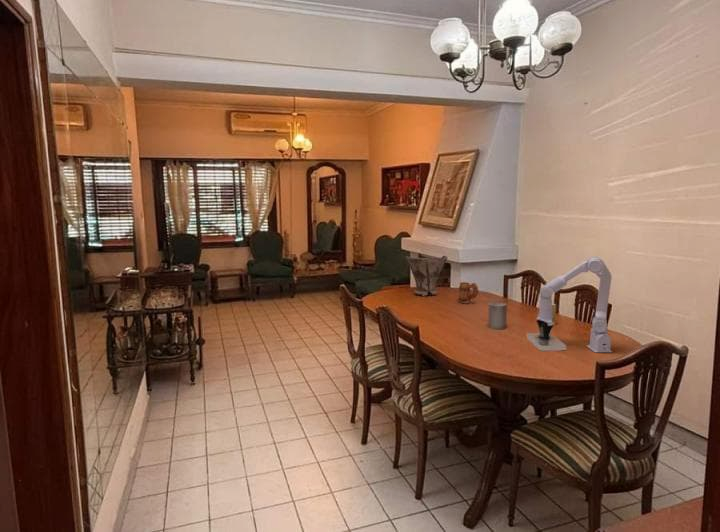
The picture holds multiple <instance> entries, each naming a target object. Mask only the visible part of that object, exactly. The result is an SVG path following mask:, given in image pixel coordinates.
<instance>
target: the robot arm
mask: <svg viewBox="0 0 720 532" xmlns="http://www.w3.org/2000/svg"><path fill="white" fill-rule="evenodd" d="M589 272H591V273H593V274H595V276H597V278H599V286H598V292H597V300H596V308H595V313H594V317H592V320H591V323H592V327H591V328H590V336H589V338H590V339H589V344H586V345H585V346H586V347H587V348H588V349H590V350H591V351H592V352H594V353H613V351H612V350H611V345H612V344H611V343H612V339H611V337H610V335H609V333H608V332H609V330H608V323H607V322H608V321H607V314H608V305H609V297H610V293H611V291H610V290H611V285H612V284H611V282H612V273H611V272H610V270H609V268H608V267H607V265H606V263H605V262H604V260H602V259H601V258H600V257H597V256H591V257H590V258H588V259H585V260H584V261H583V262H581V263H579V264H578V265H576V266H575V267H573V268H572V269H571V270H569V271H567V272H566V273H565V274H564V275H557V276H556V275H555V276H554V277H553V279H551V280H550V281H549V282H545V284H544V285H542V286H541V287H540V290H539V306H538V307H539V309H538V311H539V312H538V314H537V317H536V323H537V325H538V329H539V331H540V326H542V328H543V336H544V337H549V334H550V333H551V331H552V329H553V327H554V326H555V325H553V322H552V318H551V313H552V303H553V300H552V299H553V298H552V296H553V294H554V293H557V292H558V291H560V290H561V289H563V288H564V287H566V286H567V284H568V282H569V281H570V280H572V279H573V278H575V277H576V276H578V275H580V274H581V273H589Z"/></svg>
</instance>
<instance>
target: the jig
mask: <svg viewBox="0 0 720 532" xmlns="http://www.w3.org/2000/svg"><path fill="white" fill-rule="evenodd" d="M526 338H527V340H528V341H529V342H530V343H531V344H533V346H535V347H536V348H537V349H538V350H539V351H540V352H541V351H542V352H544V351H545V352H546V351H552V352H553V351H559V352H560V351H561V350H566V351H567V345H566V344H565V343H564V342H562V340H561V339H558V338H557V337H556V336H555V335H554V334H552V333H551V332H550V334H549V339H548V340H544V339H540V332H528V333H526Z"/></svg>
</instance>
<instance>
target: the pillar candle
mask: <svg viewBox="0 0 720 532" xmlns="http://www.w3.org/2000/svg"><path fill="white" fill-rule="evenodd" d="M507 310H508V307H507V303H506V302H503V301H490V302H489V303H488V328H490V329H493V330H505V329H507V313H508V312H507Z"/></svg>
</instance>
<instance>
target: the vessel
mask: <svg viewBox="0 0 720 532" xmlns="http://www.w3.org/2000/svg"><path fill="white" fill-rule="evenodd" d="M405 260H406V261H407V263H408V265H409V267H410V271H411V273H412V275H413V278H414V281H415V282H414V283H415V289H414V291H413V294H414V295H416V294H417V296H420V295H424V296H425V297H427V296H429V295H430V296H431V295H433V296H437V295H438V291H437V290H436V284H437V282H438V279H439V276H440V274H441V272H442V270H443V268H444V266H445V264H446V262H447V260H448V256H447V255H442V257H413V256H412V257H411V256H405ZM428 294H429V295H428ZM436 294H437V295H436Z"/></svg>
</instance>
